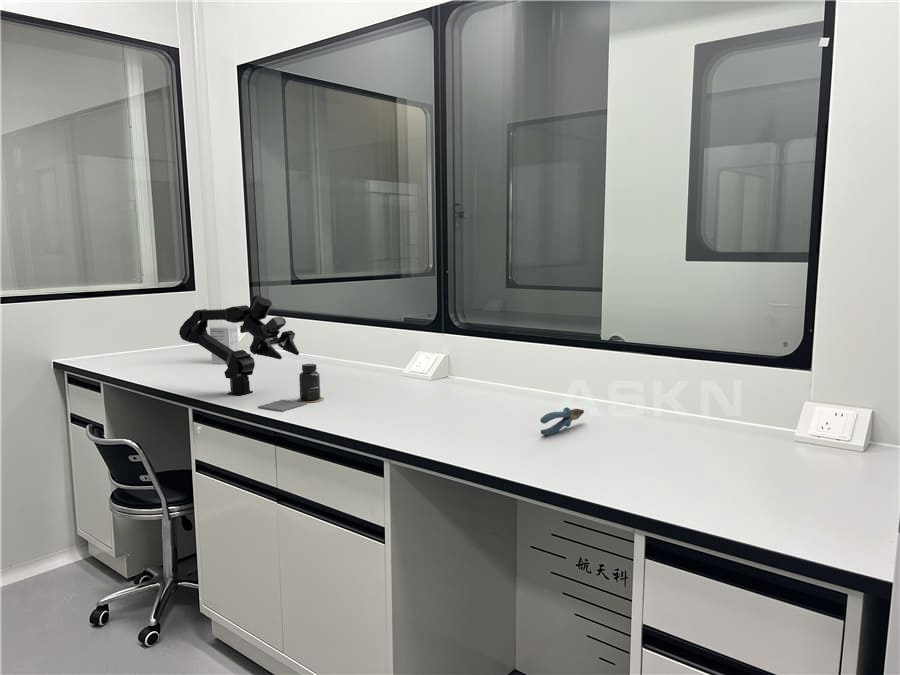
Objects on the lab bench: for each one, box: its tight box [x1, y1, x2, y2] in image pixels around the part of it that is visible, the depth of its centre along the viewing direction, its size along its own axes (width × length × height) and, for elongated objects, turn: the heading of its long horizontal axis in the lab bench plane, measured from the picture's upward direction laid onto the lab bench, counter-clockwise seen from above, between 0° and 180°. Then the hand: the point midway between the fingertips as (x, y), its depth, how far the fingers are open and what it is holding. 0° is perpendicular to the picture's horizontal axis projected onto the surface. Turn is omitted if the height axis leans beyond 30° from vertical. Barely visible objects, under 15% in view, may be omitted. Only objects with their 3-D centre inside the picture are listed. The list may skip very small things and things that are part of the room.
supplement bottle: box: [298, 363, 321, 401], centre depth 227 cm, size 7×7×12 cm
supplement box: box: [209, 324, 240, 365], centre depth 305 cm, size 10×9×17 cm
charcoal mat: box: [257, 399, 308, 413], centre depth 220 cm, size 11×11×1 cm
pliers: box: [540, 407, 585, 436], centre depth 187 cm, size 20×2×6 cm, turn 136°
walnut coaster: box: [296, 396, 325, 404], centre depth 228 cm, size 9×9×1 cm
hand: (289, 356), depth 228 cm, fingers open, 9 cm apart
